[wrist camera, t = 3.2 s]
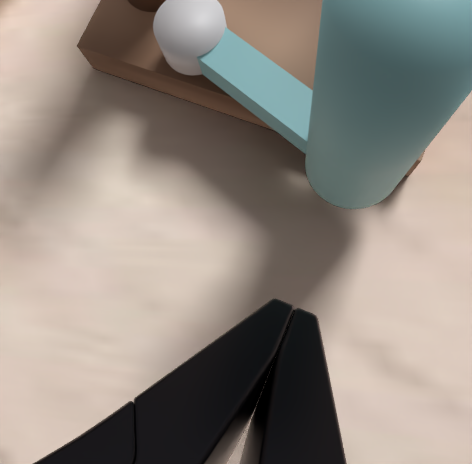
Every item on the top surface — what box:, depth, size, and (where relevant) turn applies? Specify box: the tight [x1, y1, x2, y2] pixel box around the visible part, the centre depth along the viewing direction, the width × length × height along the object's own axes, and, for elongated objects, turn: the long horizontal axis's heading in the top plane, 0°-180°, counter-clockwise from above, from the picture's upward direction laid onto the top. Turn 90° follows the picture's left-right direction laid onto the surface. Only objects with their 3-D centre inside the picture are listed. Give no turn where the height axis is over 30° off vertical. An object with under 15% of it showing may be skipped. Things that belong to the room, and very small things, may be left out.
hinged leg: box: [153, 0, 472, 209], centre depth 11 cm, size 10×3×8 cm, turn 48°
